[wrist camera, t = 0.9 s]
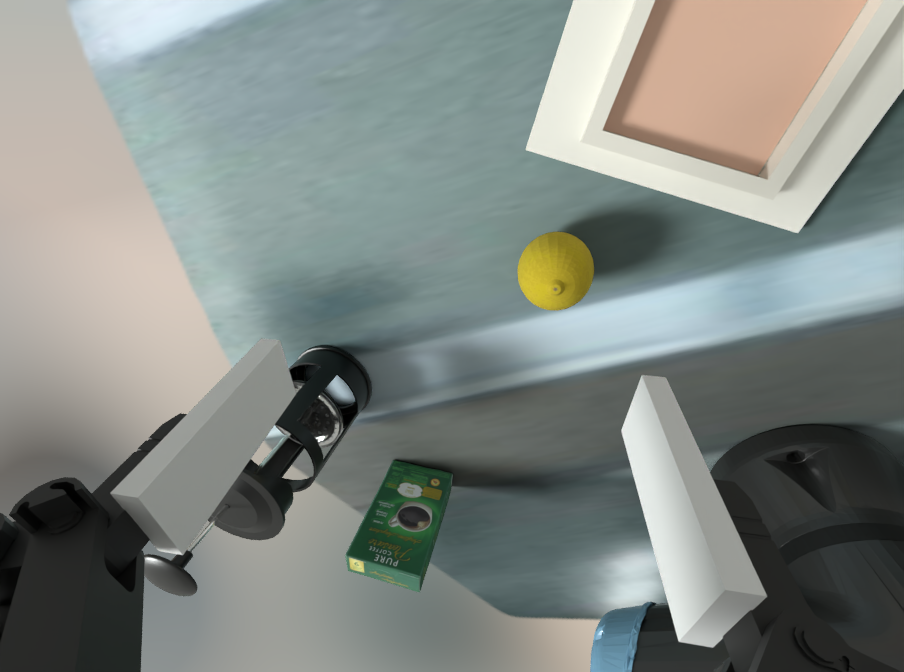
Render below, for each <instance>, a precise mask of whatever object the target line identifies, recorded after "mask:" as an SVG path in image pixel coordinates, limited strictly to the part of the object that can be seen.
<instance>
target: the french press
mask: <svg viewBox="0 0 904 672" xmlns="http://www.w3.org/2000/svg"><path fill="white" fill-rule="evenodd" d="M308 364H311V365H317V366H321V368H320V369H319V370H318V371H317V372H316V373H315V374H314V375H313V376H312V377H311V378H310V379H309V380H308V381H306V377H305V371H306V367H307V365H308ZM289 372H290V375H291V378H292V381H293V385H294V388H295V391H296V395H295V396H294V398H293V399H292V401H291V402H290V404H289V405H288V406H287V408H286V409H285V411H284V412H283V413H282V415H281V416H280V418H279V419H278V421H277V422H276V423H275V426H276V427H277V428H278V429H279V430H280V431H281V432H282V433H283V434H284V435H285V436H284V437H283V438H282V439H281V441H280V442H279V443H278V444H277V445H276V446H275V448H274V449H273V450H272V451H271V452H270V454H269V455H268V456H267V457H266V458H265V459H264V460H263V462H262V463H261V464H260V465H259V466H258V465H257V464H256V463H254V462H253V461H252V460H251V459H250V460H249V462H248V463H247V465H246V466H245V468H244V469H243V470H242V472H241V473H240V475H239V476H238V478H237V479H236V480H235V482H234V483H233V485H232V486H231V488H230V489H229V490H228V492H227V493H226V495H225V496H224V497H223V499H222V500H221V502H220V503H219V505H218V506H217V507H216V509H215V510H214V512H213V513H212V515H211V516H210V517H209V519H208V521H209V522H210V523H209V524H208V526H207V527H206V528H205V529H204V530H203V531H202V533H201V534H200V535H199V536H198V537H197V538H196V540H195V541H194V542H193V543H192V544H191V545H190V546H189V548H188V549H187V550H186V552H185V553H184V554H183V555H179V554H177V555H176V556H175V557H174V558H173V559H172V560H171V561H170V560H168V559H166V558H163V557H160V556H157V555H150V554H148V555H144V557H145V566H144V576H145V577H146V578H147V579H148V580H149V581H150V582H151V583H153V584H154V585H155V586H157V587H159V588H160V589H162V590H164V591H166V592H168V593H171V594H175V595H179V596H191V595H193V594H195V593H196V591H197V584H196V582H195V580H194V579H193V578H192V577H191V575H190V574H189V573H188V572H187V571H185V570H184V567H185V566H186V565H187V563H188V562H189V561H190V560H191V558H192V557H193V554H192V553H191V552H192V551H193V550H194V549H195V547H196V546H197V545H198V544H199V542H200V541H201V540H202V539H203V538H204V537H205V535H206V534H207V533H208V532H209V531H210V530H211V528H212V527H213V526H214V525H215V526H217V527H219V528H220V529H222V530H224V531H227V532H228V533H231V534H233V535H236V536H239V537H242V538H246V539H251V540H265V539H269V538H273V537H275V536H276V535H277V534H278V533H279V532H280V531H281V529H282V528H283V526H284V523H285V513H286V512H287V511H288V509H289V508H290V506H291V504H292V502H293V492H298V491H302V490H304V489H306V488H308V487H309V486H310V485H311V484H312V483H313V481H314V480H315V478H316V477H317V475H318V474H319V472H320V471H321V469H322V468H323V466H324V465H325V463H326V462H327V460H328V459H329V457H330V456H331V454H332V453H333V451H334V450H335V448H336V447H337V445H338V444H339V442H340V441H341V439H342V438H343V436H344V435H345V433H346V432H347V430H348V429H349V427H350V426H351V424H352V423H353V421H354V420H355V418H356V417H357V415H358V414H359V412H360V411H361V410H363V409H364V408H365V407H366V405H367V404H368V402H369V401H370V398H371V395H372V385H371V381H370V378H369V375H368V373H367V372H366V370H365V368H364V367H363V366H362V365H361V364H360V362H359V361H358V360H356V359H355V358H354V357H353V356H352V355H350V354H348V353H347V352H345V351H343V350H341V349H338V348H335V347H331V346H315V347H312V348H309V349H308V350H306V351H305V352H303V353H302V354H301V355H300V356H299V358H298V360H297V361H296V362H295V363H294V364H293V365H292V366H291V367H290V368H289ZM336 375H338V376H339V377H340V378H341V379H343V380H344V382H345V383H346V384H347V385H348V386H349V388H350V389H351V391H352V392H353V395H354V397H355V402H354V403H353V404H351V405H348V406H337V404H336V403H335V401H334V400H333V399H332V398H331V396H330V395H328V394H327V393H326V392H325V391H324V389H325V388H326V387H327V386H328V385H329V383H330V382H331V381H332V380H333V379H334V378H335V376H336ZM343 428H345V429H344V430H343ZM342 430H343V431H342ZM332 444H334V445H333V446H332V448H331V449H330V451H329V452H328V453H327V455H326V456H325V458H324V459H323V454H322V450H321V448H323V447H328V446H330V445H332ZM304 448H305V449H306V450H307V452H308V454H309V456H310V457H311V459H312V463H313V466H314V475H313V476H312V477H310V478H308V479H304V480H290V479H284V478H282V477H283V475H284V474H285V473H286V471H287V470H288V469H289V468H290V466H291V465H292V464H293V462H294V461H295V460H296V458H297V457H298V456H299V454H300V453H301V452H302V451H303V449H304Z"/></svg>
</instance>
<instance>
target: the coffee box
mask: <svg viewBox="0 0 904 672" xmlns="http://www.w3.org/2000/svg"><path fill="white" fill-rule="evenodd" d="M452 478H453V475H452V473H448V472H444V471H441V470H438V469H430V468H426V467H422V466H417V465H413V464H410V463H406V462H400V461H396V460H393V461H392V463H391V465H390V467H389V469H388V471H387V473H386V475H385V478H384V480H383V482H382V484H381V486H380V487H379V490H378V492H377V494H376V496H375V497H374V499H373V501H372V503H371V505H370V507H369V509H368V511H367V513H366V515H365V517H364V519H363V521H362V523H361V525H360V527H359V529H358V531H357V533H356V535H355V537H354V539H353V541H352V543H351V545H350V547H349V549H348V551H347V553H346V556H345V557H346V562H347V567H348V571H351V572H355V573H358V574H361V575H364V576H368V577H371V578H374V579H378V580H382V581H385V582H388V583H391V584H395V585H398V586H401V587H404V588H407V589H411V590H413V591H417V592H420V590H421V587H422V584H423V580H424V577H425V574H426V571H427V568H428V565H429V562H430V558H431V555H432V552H433V549H434V545H435V542H436V539H437V536H438V532H439V529H440V526H441V523H442V520H443V516H444V513H445V509H446V506H447V503H448V499H449V495H450V491H451V487H452Z"/></svg>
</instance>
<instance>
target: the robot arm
mask: <svg viewBox="0 0 904 672" xmlns="http://www.w3.org/2000/svg"><path fill="white" fill-rule="evenodd" d="M295 395H296V391H295V388H294V385H293V381H292V378H291V375H290V372H289V368H288V365H287V362H286V358H285V355H284V352H283V349H282V345H281V342H280V340H272V339H260V340H259V341H258V342H257V343H256V344H255V345H254V346H253V347H252V348H251V349H250V351H249V352H248V353H247V354H246V355H245V356H244V357H243V358H242V359H241V360H240V361H239V362H238V363H237V364H236V365H235V366H234V367H233V368H232V369H231V370H230V371H229V372H228V373H227V374H226V375H225V376H224V377H223V378H222V379H221V380H220V381H219V382H218V383H217V384H216V385H215V386H214V387H213V388H212V389H211V390H210V391H209V393H207V395H206V396H205V397H204V398H203V399H202V400H201V401H200V402H199V403H198V404H197V405H196V406H195V407H194V408H193V409H192V410H191V411H190V412H189V413H188V414H179V415H177V416H175V417H174V418H172V419H170V420H169V421H167V422H166V423H164V424H162V425H161V426H160V427H159V428H158V429H157V430H156V431H155V432H154V433H153V434H152V435H151V436H150V437H149V440H148V441H145V442H144V443H143V444H142V445H141V446H140V447H139V448H138V451H137V452H134V453H133V454H132V455H131V456H130V457H129V458H128V459H127V460H126V461H125V462H124V463H123V464H122V465H121V466H120V467H119V468H118V469H117V470H116V471H115V472H114V473H113V474H111V475H110V476H109V477H108V478H107V479H106V480H105V482H103V483H102V484H101V485H100V486H99V487H98V488H97V489H96V490H95V491H94V492H93V493H92V494H91V493H90V492H89V491H88V489H86V487H85V486H84V485H83V484H82V483H81V482H80V481H79V480H77V479H76V478H66V477H65V478H60V479H56V480H52V481H50V482H48V483H45V484H43V485H41V486H39V487H37V488H36V489H34V490H33V491H31V492H30V493H28V494H26V495H25V496H24V497H23V498H22V499H21V500H20V501H19V502H18V503H17V504H16V505H15V506H14V507H13V509H12V511H11V512H10V514H9V515H10V516H11V517H12V518H13V519H14V520H15V522H12V521H11V520H9V519H8V518H7V517H6V516H4V515H3V514H1V513H0V672H141V645H142V619H143V618H142V617H143V593H144V566H145V557H144V553H143V551H142V549H143V547H144V546H145V545H146V544H147V542H148V541H149V540H150V541H151V542H152V544H153V545H154V546H155V547H156V548H157V550H158V551H162V552H168V553H174V554H179V555H183V554H184V553H185V552H186V550H187V549H188V547H189V546H190V544H191V543H192V542H193V540H194V539H195V537H196V536H197V535H198V533H199V532H200V530H201V529H202V527H203V526H204V524H205V523H206V522H207V520H208V519H209V517H210V516H211V515H212V513H213V512H214V510H215V509H216V507H217V506H218V505H219V503H220V502H221V500H222V499H223V497H224V496H225V495H226V493H227V492H228V490H229V489H230V488H231V486H232V485H233V483H234V482H235V480H236V479H237V478H238V476H239V475H240V473H241V472H242V470H243V469H244V468H245V466H246V465H247V463H248V462H249V460H250V459H251V458H252V456H253V455H254V453H255V452H256V451H257V449H258V448H259V446H260V445H261V443H262V442H263V441H264V439H265V438H266V436H267V435H268V433H269V432H270V431H271V429H272V428H273V426H274V425H275V423H276V422H277V421H278V419H279V418H280V416H281V415H282V413H283V412H284V411H285V409H286V408H287V406H288V405H289V404H290V402H291V401H292V399H293V398H294V396H295ZM621 431H622V435H623V439H624V442H625V446H626V450H627V454H628V457H629V461H630V465H631V468H632V472H633V476H634V479H635V483H636V487H637V490H638V494H639V498H640V501H641V505H642V509H643V512H644V516H645V520H646V523H647V527H648V531H649V535H650V538H651V542H652V546H653V549H654V553H655V557H656V560H657V564H658V568H659V571H660V575H661V579H662V582H663V586H664V590H665V593H666V597H667V601H668V603H661V604H656V603H653V602H646V603H645V604H644V605H642V606H635V607H628V608H621V609H615V610H612V611H610V612H608V613H607V614H605V615H604V616H603V617H602V619H601V620H600V622H599V624H598V626H597V629H596V632H595V635H594V641H593V647H592V653H591V669H590V672H904V466H903V465H902V464H901V463H900V462H899V461H898V460H897V459H896V458H895V457H894V456H893V455H892V454H891V453H890V452H889V451H888V450H887V449H886V448H885V447H884V446H882V445H881V444H880V443H878V442H877V441H875V440H874V439H872V438H870V437H868V436H866V435H864V434H861V433H858V432H855V431H852V430H848V429H844V428H839V427H832V426H822V425H804V426H793V427H786V428H781V429H776V430H772V431H768V432H765V433H762V434H759V435H756V436H754V437H752V438H749V439H747V440H745V441H743V442H741V443H740V444H738V445H736V446H735V447H733V448H732V449H730V450H729V451H728V452H726V453H725V454H724V455H723V456H722V457H721V458H720V459H719V460H718V461H717V463H716V464H715V465H714V467H713V468H712V470H711V472H709V470H708V467H707V465H706V463H705V461H704V459H703V457H702V455H701V452H700V450H699V448H698V446H697V444H696V442H695V439H694V437H693V435H692V433H691V431H690V429H689V426H688V424H687V422H686V420H685V418H684V416H683V414H682V411H681V409H680V407H679V405H678V403H677V401H676V398H675V396H674V394H673V392H672V390H671V388H670V385H669V383H668V381H667V379H666V377H657V376H646V375H642V376H641V379H640V381H639V384H638V387H637V390H636V392H635V395H634V398H633V400H632V403H631V406H630V409H629V411H628V414H627V417H626V419H625V422H624V425H623V428H622V430H621Z"/></svg>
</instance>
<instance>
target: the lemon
mask: <svg viewBox="0 0 904 672" xmlns="http://www.w3.org/2000/svg"><path fill="white" fill-rule="evenodd" d="M593 275H594V263H593V258H592V256H591V253H590V251H589V249H588V248H587V247H586V245H585V244H584V243H583V242H582V241H581V240H580V239H578V238H577V237H576V236H573V235H571V234H568V233H564V232H551V233H546V234H544V235H541V236H539V237H537V238H536V239H534V240H533V241H532V242H531V243H530V244H529V245H528V246H527V247H526V248H525V250H524V251H523V253H522V255H521V257H520V260H519V265H518V280H519V284H520V287H521V289H522V291H523V293H524V294H525V296H526V297H527V298H528V299H529V300H530V301H531V302H532V303H533V304H535V305H536V306H538V307H540V308H543V309H547V310H562V309H566V308H569V307H571V306H573V305H575V304H576V303H578V302H579V301H580V300H581V299H582V298H583V297H584V296H585V294H586V293H587V292H588V290H589V288H590V286H591V284H592V281H593Z"/></svg>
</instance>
